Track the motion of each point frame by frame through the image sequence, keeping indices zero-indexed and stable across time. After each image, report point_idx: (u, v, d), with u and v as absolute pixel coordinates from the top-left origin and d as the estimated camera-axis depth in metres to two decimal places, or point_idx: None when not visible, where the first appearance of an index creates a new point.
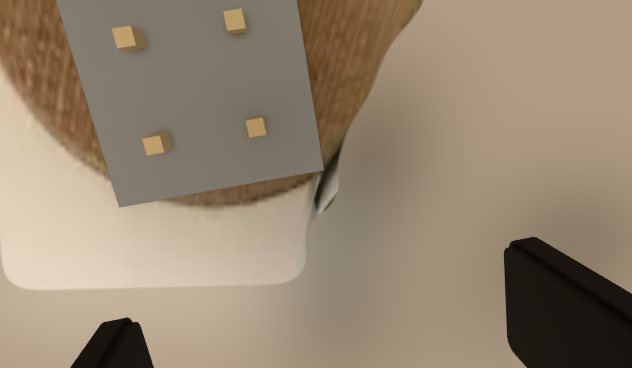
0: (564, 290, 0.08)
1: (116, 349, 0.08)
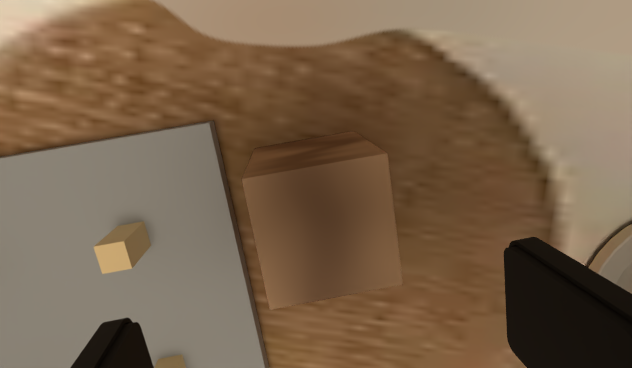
0: (564, 290, 0.08)
1: (116, 349, 0.08)
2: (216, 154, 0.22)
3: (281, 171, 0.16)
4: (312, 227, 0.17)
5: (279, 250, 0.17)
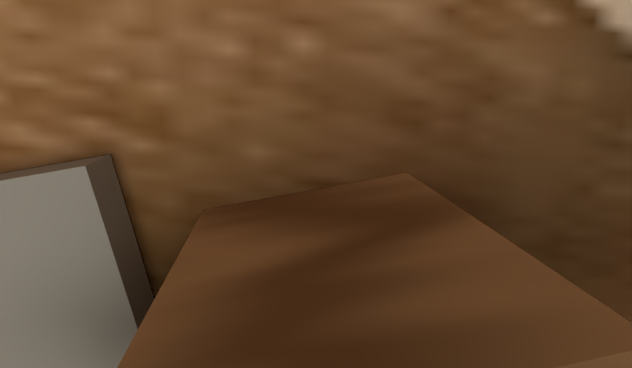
0: None
1: None
2: (109, 234, 0.10)
3: None
4: None
5: None
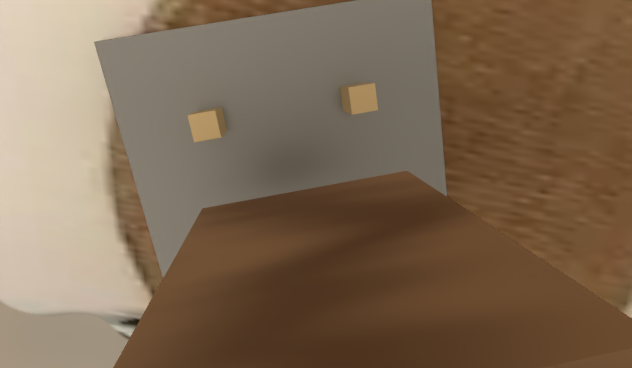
0: None
1: None
2: None
3: None
4: None
5: None
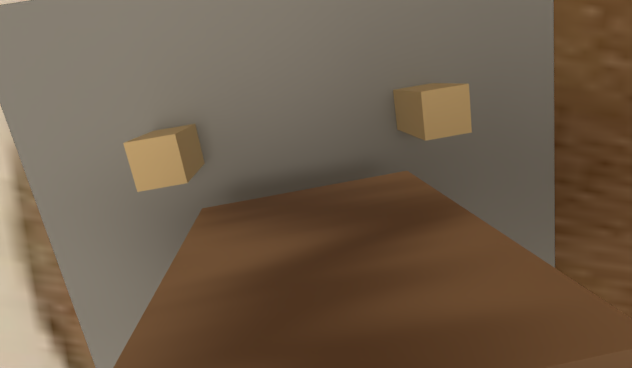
0: None
1: None
2: None
3: None
4: None
5: None
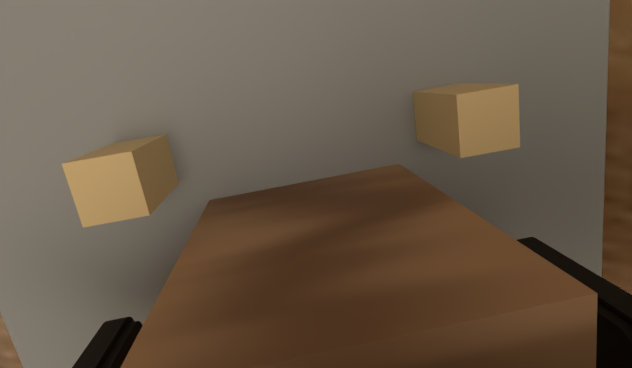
0: None
1: (118, 348, 0.08)
2: None
3: (245, 361, 0.05)
4: None
5: None
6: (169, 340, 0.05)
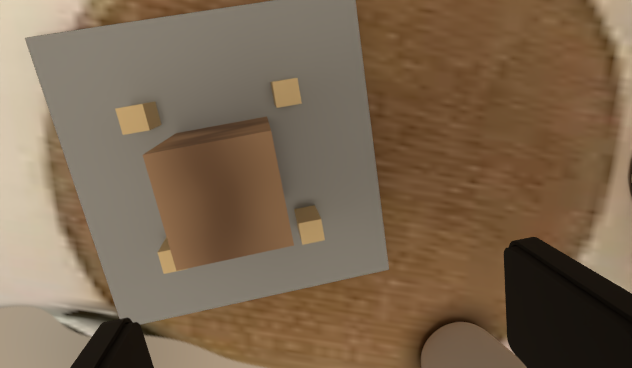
0: (564, 290, 0.08)
1: (116, 349, 0.08)
2: (356, 18, 0.26)
3: (178, 147, 0.19)
4: (210, 196, 0.19)
5: (181, 217, 0.19)
6: (158, 149, 0.19)
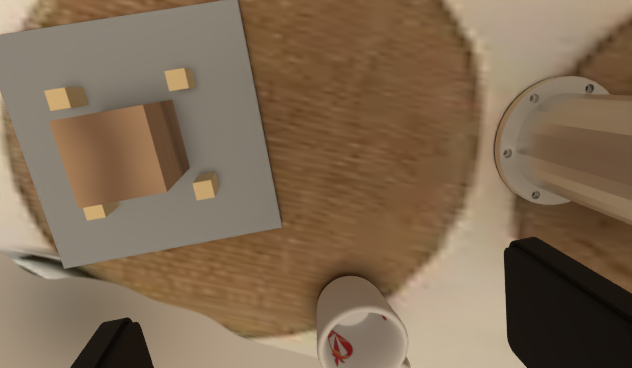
0: (564, 290, 0.08)
1: (116, 349, 0.08)
2: (241, 22, 0.33)
3: (75, 116, 0.26)
4: (100, 153, 0.27)
5: (79, 168, 0.27)
6: None
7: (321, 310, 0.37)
